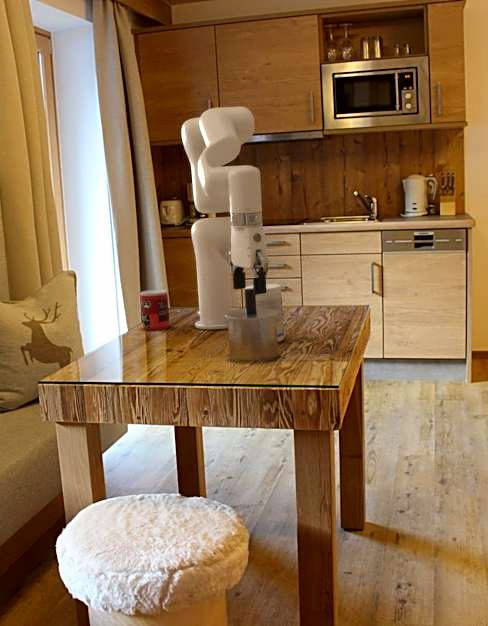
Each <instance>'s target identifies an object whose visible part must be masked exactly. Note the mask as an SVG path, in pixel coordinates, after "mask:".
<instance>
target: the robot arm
mask: <svg viewBox="0 0 488 626" xmlns="http://www.w3.org/2000/svg"><path fill="white" fill-rule="evenodd" d="M255 123H256V122H255V118H254V115H253V113H252V111H251V110H250V109H249V108H248V107H246V106H221V107H220V106H219V107H213V108H209V109H206V110H205V111H203V113H201V115H200V117H193V118H189V119H187V120H186V121H184V122H183V124H182V126H181V140H182V144H183V147H184V151H185V153H186V155H187V158H188V161H189V163H190V168H191V179H192V193H193V203H194V207H195V209H196V211H197V212H199V213H202V214H217V213H218V214H219V213H220V214H221V213H229V216H223V217H222V216H219V217H207V218H201V219H199V220H197V221H195V222H194V223H193V224H192V226H191V229H190V230H191V231H190V233H191V234H190V235H191V240H192V246H193V250H194V256H195V263H196V279H197V294H198V312H197V315H198V316H199V320H197V321H195V323H194V327H195V328H196V329H199V330H207V331H208V330H210V331H211V330H224V329H228V324H227V318H225V313H227V312H230V311H233V306H232V288H233V290H243V289H245V288H246V287H247V286H246V283H247V281H246V272H245V271H244V270H245V269H247V270H251V272H252V274H253V276H254V277H252V285H253V290H254V294H255V295H259V294H265V293H266V284H267V277H268V272H269V265H270V260H269V258H268V248H267V246H268V245H267V240H266V233H265V229H264V226H263V206H262V205H263V203H262V185H261V184H262V183H261V172H260V169H259V168H258V167H255V166H253V165H250V164H249V165H227V164H228V163H231V162H232V161H234V160H235V159H236V158H237V156H239V154H240V153H241V150H242V149H241V148H242V145H244V144H245V143H246V142H248V141H250V139H251V138H252V137H253V135H254V132H255V129H256V128H255V126H256V125H255ZM225 165H227V166H225ZM229 250H230V252H229V253H228V259H229V262H228V260H226V258H225V257H224V256H223V255H222V254H221V253H220V252H222V251H229ZM230 267H231V269H230ZM230 270H231V271H230ZM231 273H232V287H231Z"/></svg>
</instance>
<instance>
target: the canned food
mask: <svg viewBox="0 0 488 626" xmlns="http://www.w3.org/2000/svg"><path fill="white" fill-rule="evenodd" d="M139 296H140V308H141V321H142V328H143V330H145V331H153V332H154V331H162V330H167V329H169V327H170V311H169V295H168V290H166V289H149V290H148V289H147V290H143V291H140V295H139Z"/></svg>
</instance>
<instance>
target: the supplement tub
mask: <svg viewBox="0 0 488 626" xmlns="http://www.w3.org/2000/svg"><path fill="white" fill-rule="evenodd" d="M249 288H253V284H252V285H248V286H246V287H245V288H244V290H245V289H249ZM256 308H266V309H274V310H276V311H278V315H277V316H276V326H277V343H280V342H282V341H283V340H284V339H285V330H284V329H285V328H284V327H285V326H284V315H283V314H284V312H283V296H282V289H281V284H276V283H266V293H265V294H259V295H256Z"/></svg>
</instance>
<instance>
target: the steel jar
mask: <svg viewBox="0 0 488 626" xmlns="http://www.w3.org/2000/svg"><path fill="white" fill-rule="evenodd" d="M227 324H228V328H227V339H228V340H227V341H228V353H229V354H228V356H229V359H231V360H233V361H239V362H260V361H261V362H262V361H268V360H271V359H274V358H278V356H279V350H278V342H277V326H276V316H275V317H272V318H268V319H262V320H248V321H241V320H230V319H227Z"/></svg>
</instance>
